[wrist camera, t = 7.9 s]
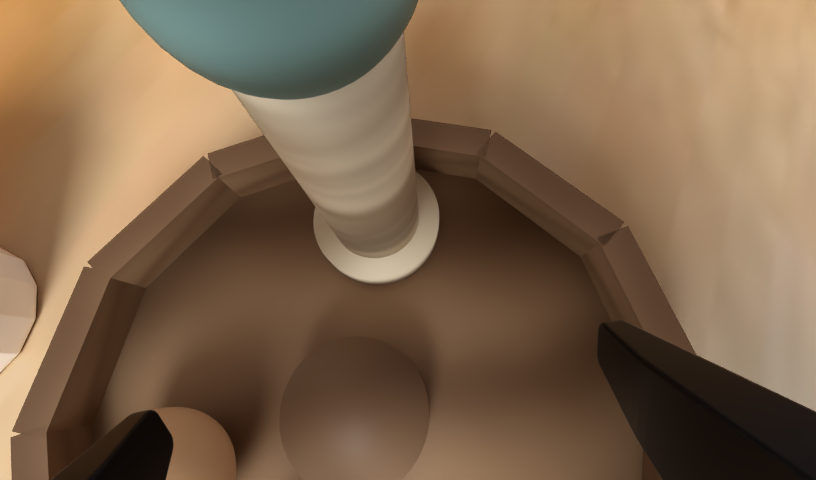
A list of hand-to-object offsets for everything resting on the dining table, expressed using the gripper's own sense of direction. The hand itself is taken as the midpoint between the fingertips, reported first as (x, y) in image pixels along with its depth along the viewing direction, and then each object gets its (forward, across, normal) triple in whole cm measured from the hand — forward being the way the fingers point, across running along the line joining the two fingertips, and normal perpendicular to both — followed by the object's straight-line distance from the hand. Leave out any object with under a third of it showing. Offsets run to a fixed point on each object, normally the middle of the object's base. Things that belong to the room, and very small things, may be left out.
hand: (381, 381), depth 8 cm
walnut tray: (+6, +2, +7) cm, 9 cm away
